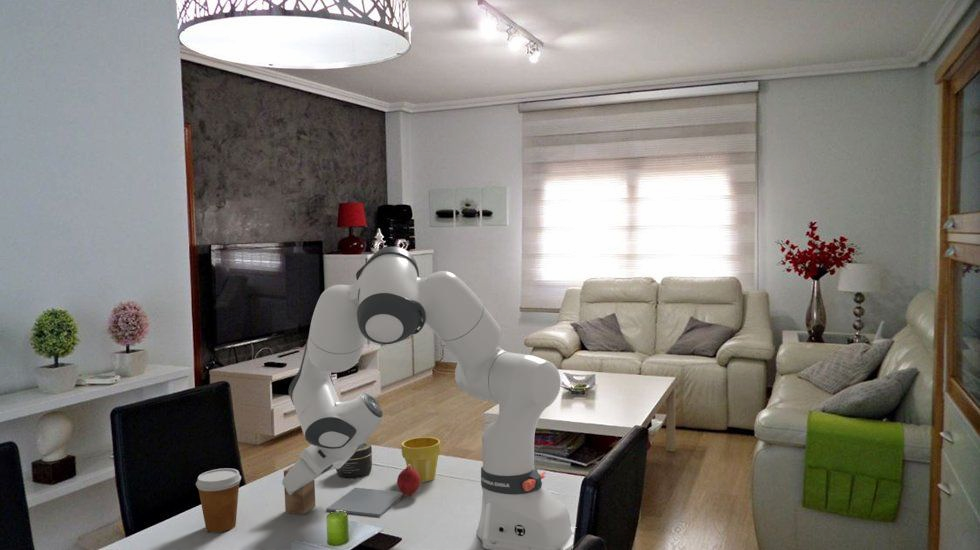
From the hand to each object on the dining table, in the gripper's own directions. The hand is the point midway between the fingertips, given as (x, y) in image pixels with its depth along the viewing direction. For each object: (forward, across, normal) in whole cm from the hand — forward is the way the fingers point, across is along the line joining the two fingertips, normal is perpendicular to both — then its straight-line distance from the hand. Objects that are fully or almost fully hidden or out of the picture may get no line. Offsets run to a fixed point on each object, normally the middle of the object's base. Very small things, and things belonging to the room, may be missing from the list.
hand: (297, 487), depth 163 cm
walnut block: (+3, 0, +4) cm, 5 cm away
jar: (+3, -26, +5) cm, 27 cm away
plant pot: (-11, -26, +19) cm, 34 cm away
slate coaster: (-6, -8, +14) cm, 17 cm away
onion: (-12, -14, +20) cm, 27 cm away
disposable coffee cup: (+12, +13, -4) cm, 18 cm away
